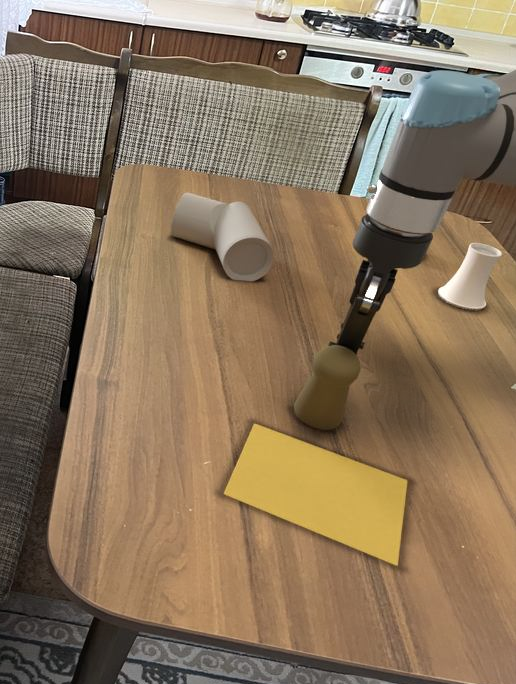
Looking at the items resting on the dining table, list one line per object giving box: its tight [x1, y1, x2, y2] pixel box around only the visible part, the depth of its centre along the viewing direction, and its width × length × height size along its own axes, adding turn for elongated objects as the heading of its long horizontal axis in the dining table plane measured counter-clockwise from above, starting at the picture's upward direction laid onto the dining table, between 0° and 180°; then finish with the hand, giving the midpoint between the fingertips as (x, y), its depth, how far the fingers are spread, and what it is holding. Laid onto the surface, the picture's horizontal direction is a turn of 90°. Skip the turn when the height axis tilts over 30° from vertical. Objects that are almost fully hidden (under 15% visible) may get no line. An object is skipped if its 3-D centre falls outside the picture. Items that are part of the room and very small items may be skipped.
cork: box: [293, 345, 361, 431], centre depth 83 cm, size 6×6×11 cm
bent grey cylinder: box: [170, 192, 275, 282], centre depth 121 cm, size 18×11×20 cm
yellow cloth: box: [223, 422, 408, 567], centre depth 77 cm, size 18×14×1 cm
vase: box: [437, 242, 503, 312], centre depth 115 cm, size 8×8×10 cm
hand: (327, 388), depth 89 cm, fingers closed
